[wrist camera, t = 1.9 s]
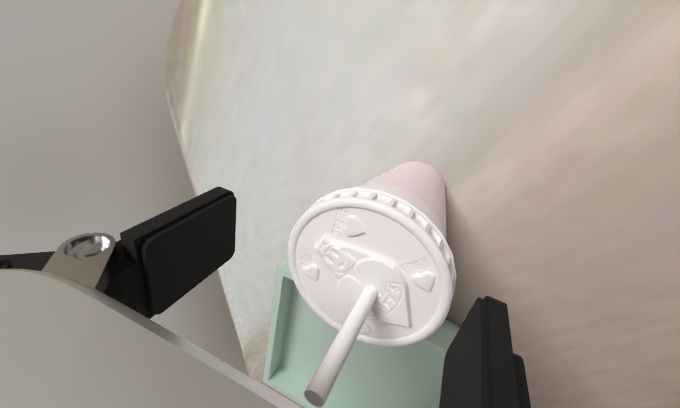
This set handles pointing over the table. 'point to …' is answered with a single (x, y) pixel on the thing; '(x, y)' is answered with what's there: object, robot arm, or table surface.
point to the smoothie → (374, 265)
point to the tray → (349, 359)
